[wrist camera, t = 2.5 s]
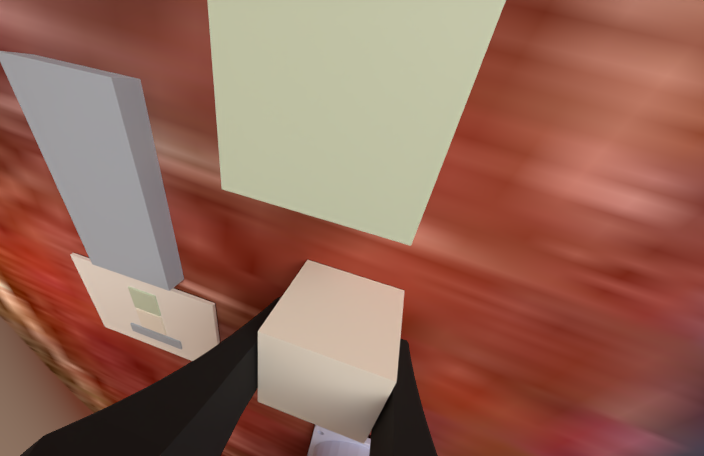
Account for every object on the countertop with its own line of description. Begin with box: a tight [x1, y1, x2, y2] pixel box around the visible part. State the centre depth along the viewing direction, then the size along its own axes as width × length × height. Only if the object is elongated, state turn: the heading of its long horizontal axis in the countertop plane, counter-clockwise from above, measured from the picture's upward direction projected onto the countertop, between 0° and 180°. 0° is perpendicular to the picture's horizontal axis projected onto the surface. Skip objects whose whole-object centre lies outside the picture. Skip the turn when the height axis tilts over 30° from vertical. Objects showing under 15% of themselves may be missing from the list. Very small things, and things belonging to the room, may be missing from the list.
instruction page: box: [70, 253, 220, 361], centre depth 17 cm, size 7×10×1 cm
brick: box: [258, 260, 404, 444], centre depth 10 cm, size 4×4×4 cm
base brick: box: [0, 51, 184, 291], centre depth 12 cm, size 10×5×2 cm, turn 170°
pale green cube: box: [208, 0, 506, 246], centre depth 6 cm, size 4×4×4 cm
